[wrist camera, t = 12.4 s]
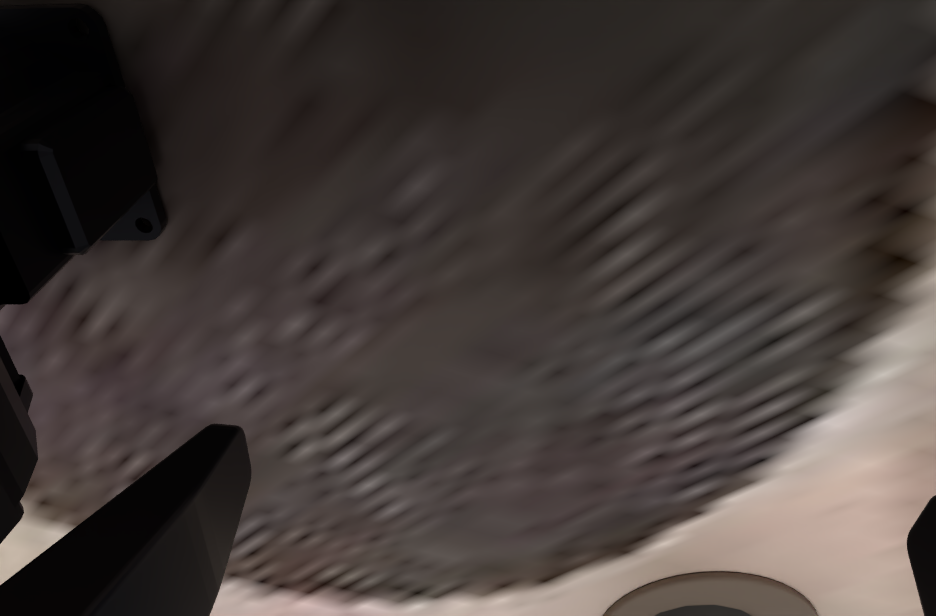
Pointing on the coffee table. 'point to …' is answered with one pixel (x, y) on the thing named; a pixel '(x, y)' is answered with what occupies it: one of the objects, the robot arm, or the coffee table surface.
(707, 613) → the candle holder
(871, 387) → the coffee table surface
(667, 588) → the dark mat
